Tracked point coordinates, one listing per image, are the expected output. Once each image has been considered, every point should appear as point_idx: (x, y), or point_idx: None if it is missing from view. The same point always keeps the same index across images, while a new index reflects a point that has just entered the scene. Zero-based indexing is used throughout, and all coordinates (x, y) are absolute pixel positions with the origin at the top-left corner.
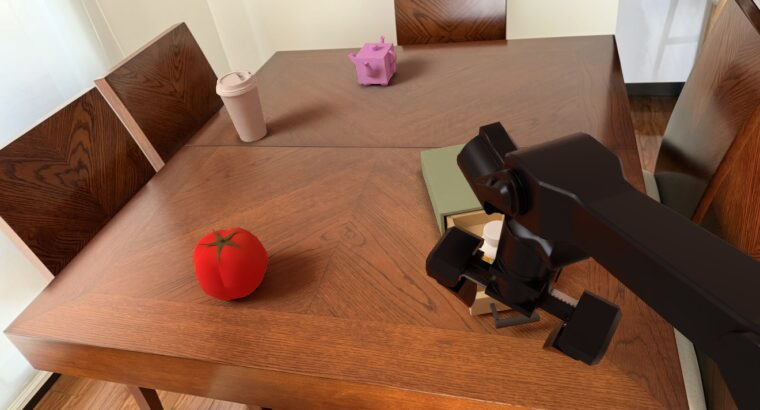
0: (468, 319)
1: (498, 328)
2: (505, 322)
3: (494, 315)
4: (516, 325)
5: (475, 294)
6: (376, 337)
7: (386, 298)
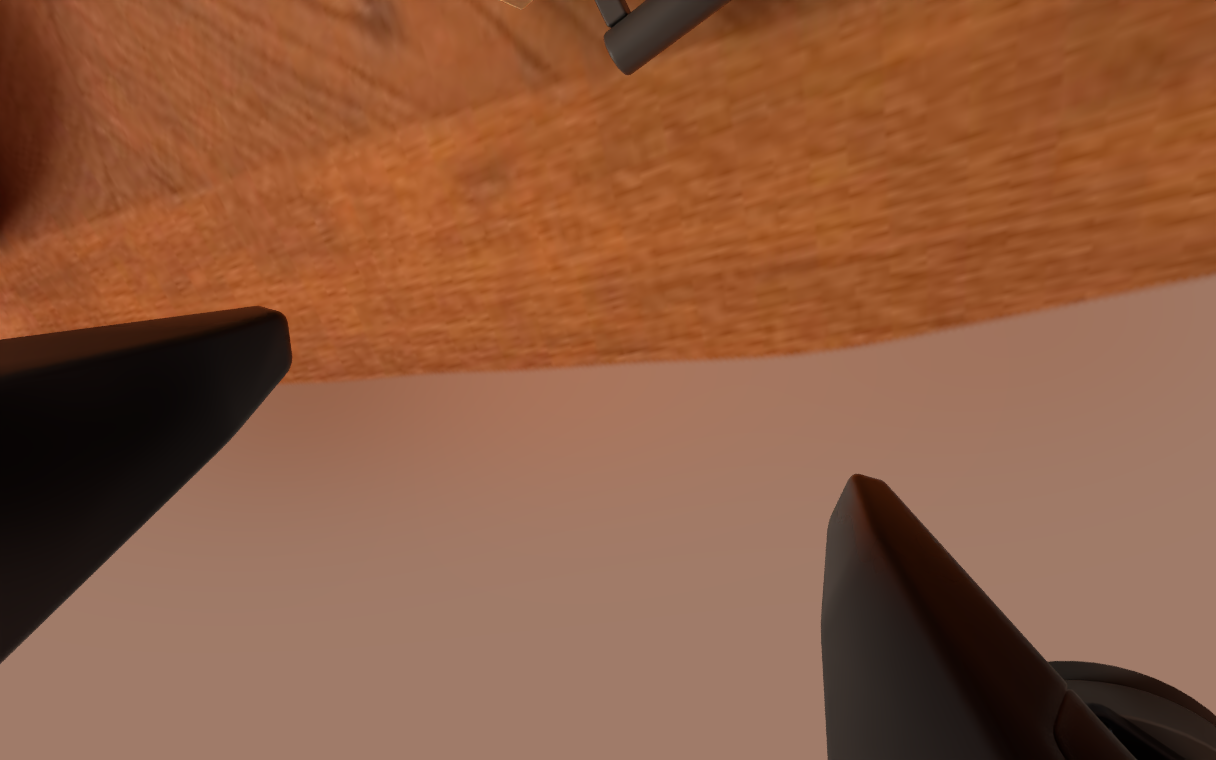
0: (525, 21)
1: (636, 69)
2: (655, 32)
3: (597, 1)
4: (718, 8)
5: (190, 363)
6: (299, 231)
7: (244, 50)
